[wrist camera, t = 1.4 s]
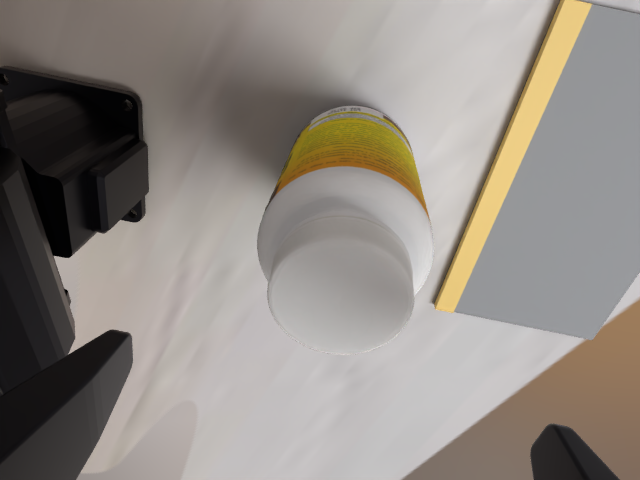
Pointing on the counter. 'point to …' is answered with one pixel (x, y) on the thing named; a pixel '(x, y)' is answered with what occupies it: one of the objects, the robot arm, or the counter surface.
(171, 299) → the counter surface
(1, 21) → the counter surface
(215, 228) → the counter surface
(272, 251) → the supplement bottle
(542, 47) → the mat
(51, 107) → the robot arm
